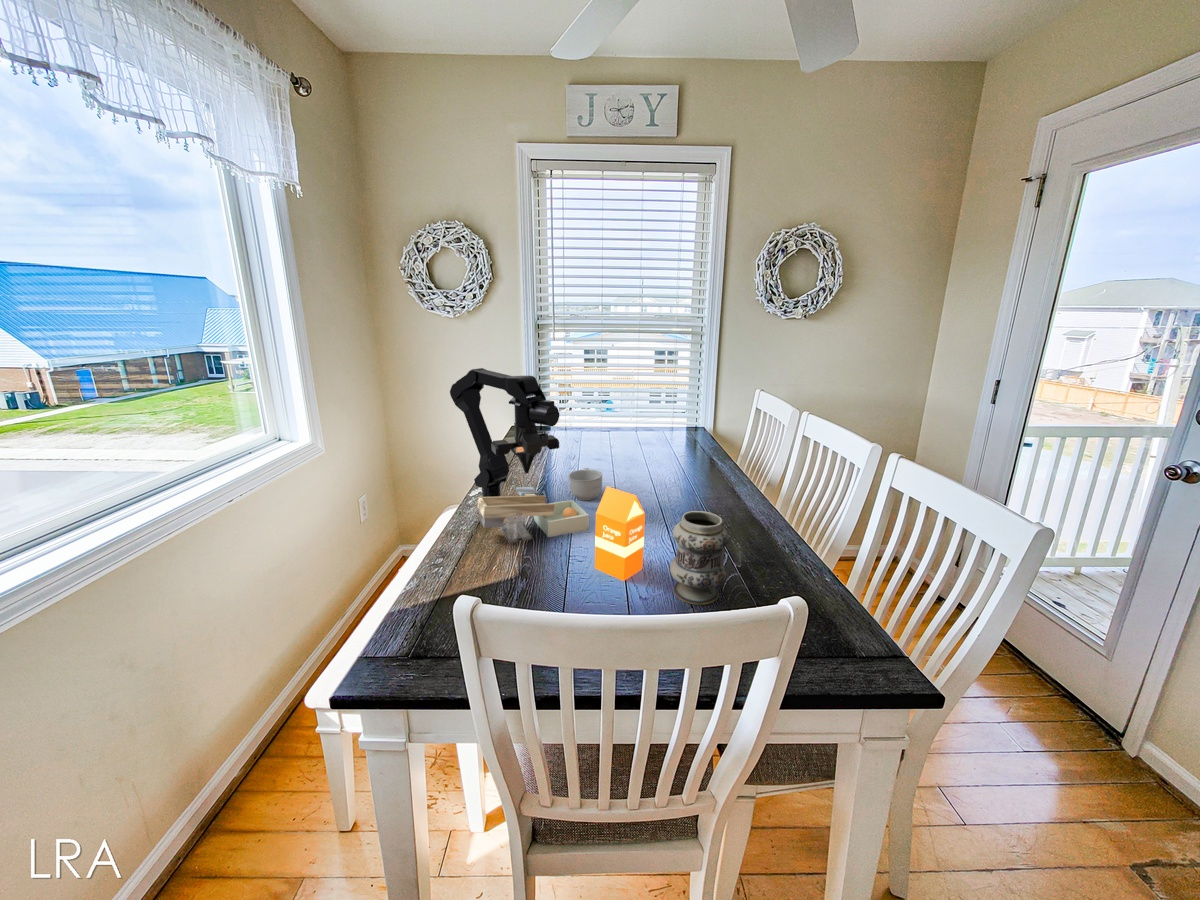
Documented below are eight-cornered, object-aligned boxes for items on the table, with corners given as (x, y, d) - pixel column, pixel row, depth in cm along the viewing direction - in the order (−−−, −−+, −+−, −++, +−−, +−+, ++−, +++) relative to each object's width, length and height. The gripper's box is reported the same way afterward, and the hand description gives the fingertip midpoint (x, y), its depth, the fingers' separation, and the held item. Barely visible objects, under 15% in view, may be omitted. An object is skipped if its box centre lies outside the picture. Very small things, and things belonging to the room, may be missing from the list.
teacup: (598, 504, 156) (598, 481, 154) (564, 501, 158) (564, 477, 156) (606, 489, 170) (606, 467, 167) (575, 486, 172) (575, 464, 169)
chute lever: (469, 504, 142) (470, 484, 141) (532, 502, 151) (534, 484, 150) (482, 528, 128) (484, 507, 126) (551, 525, 136) (554, 504, 135)
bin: (534, 520, 144) (533, 505, 143) (572, 513, 149) (572, 499, 148) (548, 537, 134) (547, 522, 133) (588, 529, 139) (588, 515, 138)
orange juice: (614, 556, 125) (616, 482, 119) (642, 568, 120) (646, 491, 114) (594, 568, 119) (595, 490, 113) (623, 581, 114) (626, 500, 108)
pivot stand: (499, 527, 139) (498, 502, 137) (520, 523, 142) (519, 499, 140) (509, 543, 130) (508, 516, 128) (531, 538, 133) (530, 513, 131)
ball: (569, 520, 145) (558, 515, 143) (575, 508, 145) (564, 503, 143) (574, 525, 141) (563, 520, 139) (581, 513, 141) (570, 508, 139)
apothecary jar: (715, 577, 116) (722, 506, 111) (730, 608, 105) (739, 530, 99) (664, 577, 116) (669, 506, 111) (673, 608, 104) (679, 530, 99)
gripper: (499, 430, 129) (502, 486, 134) (566, 424, 137) (566, 477, 142) (489, 421, 139) (492, 473, 144) (552, 416, 147) (552, 466, 151)
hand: (526, 472), depth 145 cm, fingers closed
